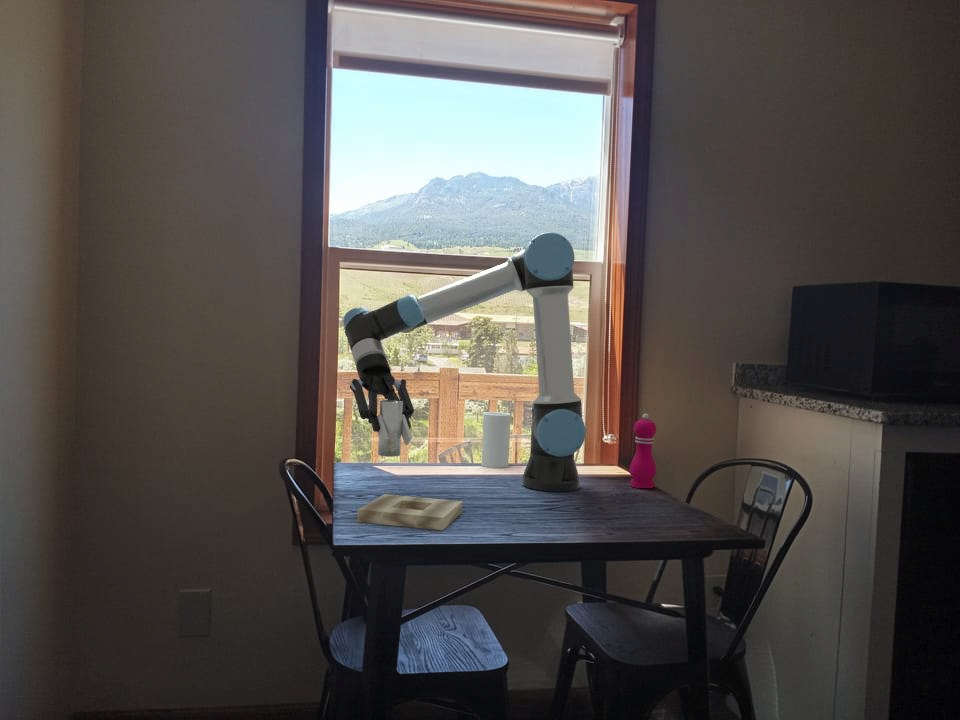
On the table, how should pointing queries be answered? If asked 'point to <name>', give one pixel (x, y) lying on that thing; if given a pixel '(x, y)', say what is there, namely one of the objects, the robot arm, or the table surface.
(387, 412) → the tall grey pillar
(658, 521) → the table surface
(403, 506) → the frame
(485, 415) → the cup
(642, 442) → the pepper mill
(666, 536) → the table surface
